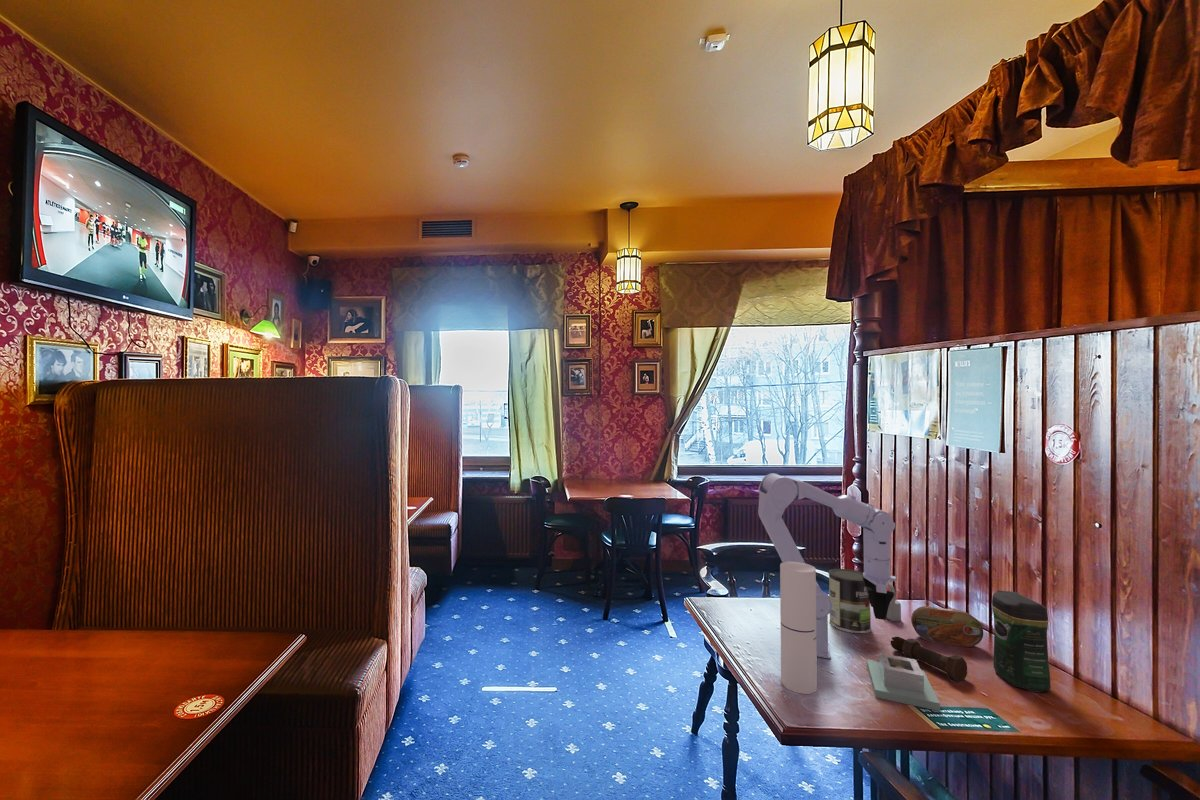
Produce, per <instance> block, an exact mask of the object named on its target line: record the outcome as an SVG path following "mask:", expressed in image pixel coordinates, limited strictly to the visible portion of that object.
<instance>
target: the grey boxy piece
mask: <svg viewBox="0 0 1200 800" xmlns="http://www.w3.org/2000/svg"><path fill="white" fill-rule="evenodd" d="M878 662H879V671H880V674H881V677H882V680H883V683H884V685H885V686H890V687H895V688H899V689H904V690H909V691H914V692H919V693H924V675H923V673H922V671H921V670H922V669H921V668H920V665H919V662H918V660H915V659H909V658H906V657H905V656H898V655H892V654H886V653H880V652H878ZM896 666H901V667H903V668H904V669H901V668H896Z"/></svg>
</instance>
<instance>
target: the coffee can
mask: <svg viewBox="0 0 1200 800" xmlns="http://www.w3.org/2000/svg"><path fill="white" fill-rule="evenodd" d="M862 576H863V572H861V571H858V570H855V569H847V568H833V569H829V570H828V577H829V578H828V585H829V586H828V588H829V595H828V596H829V598H830V599H831V602H832V609H831V612H830V613H829V621H830V622H829V624H830V623H831V624H832V625H833V627H834V626H835V627H837V628H839V629H838V630H840V629H841V630H840V631H843V630H844V631H843V632H846V631H847V633H850V632H851V633H850V634H856V633H865V634H868V633H870V632H871V630H872V627H871V626H872V625H871V604H870V601H869V596H868V591H867V589H866V584H865V582H864V580H863V578H862ZM832 625H831V626H832ZM835 627H834V628H835ZM837 628H836V629H837Z"/></svg>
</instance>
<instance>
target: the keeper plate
mask: <svg viewBox="0 0 1200 800" xmlns="http://www.w3.org/2000/svg"><path fill="white" fill-rule="evenodd" d="M866 668H867V672H868V675H869V679H870V683H871V686H872V690H873V693H874V694H873V695H874V698H879V699H882V700H888V701H891V702H896V703H901V704H904V705H905V704H906V705H910V706H916V707H919V708H925V709H928V710H932V711H938V712H941V704H940V703H941V702H940V701H939V699H938V697H937V695H936V692H935V691H934V689H933V687H932V684H931V683H930V681H929V679H928V677H927V674H926V673H925V671H924V669H923V670H922V669H921V671H922V673H923V675H924V693H919V692H914V691H909V690H904V689H899V688H895V687H890V686H885V685H884V683H883V680H882V677H881V674H880V671H879V661H876V660H871V659H866ZM896 668H901V669H904V668H903V667H901V666H896Z"/></svg>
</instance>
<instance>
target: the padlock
mask: <svg viewBox="0 0 1200 800" xmlns="http://www.w3.org/2000/svg"><path fill="white" fill-rule="evenodd" d="M887 587H888V588H889V591H891V592H894V597H893V599H892V600H891V602H890V604H889V607H888V611H887V616H886V619H888V620H889V621H893V622H895V621H899V622H900V621H902V604H901V602H899V600H897V599H896V591H895V587H894V586H893V584H892V583H891V582H890V583H889V584H888V585H887Z"/></svg>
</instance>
